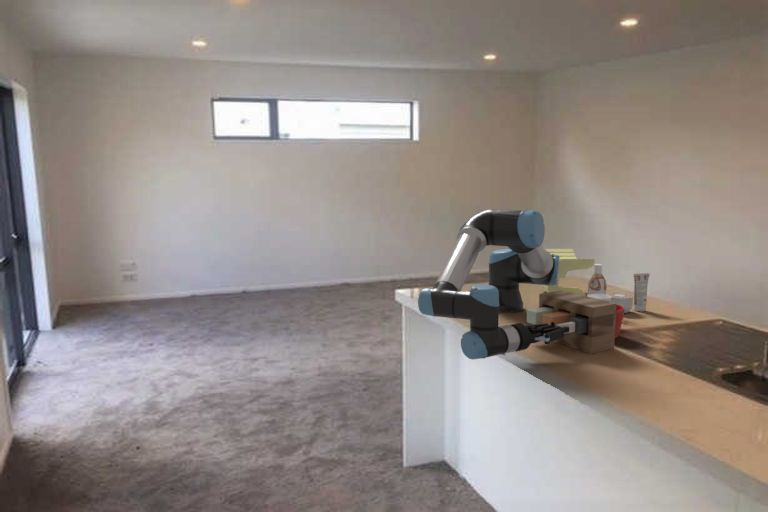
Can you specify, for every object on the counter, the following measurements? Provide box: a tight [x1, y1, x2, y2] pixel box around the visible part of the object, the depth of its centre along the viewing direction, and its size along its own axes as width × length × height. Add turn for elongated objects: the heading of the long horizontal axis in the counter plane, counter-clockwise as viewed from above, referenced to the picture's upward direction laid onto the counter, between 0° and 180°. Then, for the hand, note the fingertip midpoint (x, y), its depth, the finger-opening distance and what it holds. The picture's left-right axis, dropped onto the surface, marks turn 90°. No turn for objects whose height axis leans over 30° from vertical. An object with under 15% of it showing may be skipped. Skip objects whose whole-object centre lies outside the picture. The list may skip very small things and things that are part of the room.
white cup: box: [586, 294, 611, 302], centre depth 206 cm, size 8×8×10 cm
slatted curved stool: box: [541, 248, 596, 296], centre depth 253 cm, size 30×16×18 cm, turn 179°
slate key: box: [569, 315, 589, 334], centre depth 177 cm, size 4×10×4 cm, turn 119°
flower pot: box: [615, 305, 625, 339], centre depth 192 cm, size 11×11×10 cm
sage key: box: [526, 306, 554, 325], centre depth 188 cm, size 4×10×4 cm, turn 119°
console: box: [538, 291, 616, 355], centre depth 185 cm, size 22×10×14 cm, turn 29°
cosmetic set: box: [587, 263, 651, 314], centre depth 222 cm, size 25×9×19 cm, turn 102°
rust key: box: [543, 310, 571, 325], centre depth 182 cm, size 4×10×4 cm, turn 119°
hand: (573, 326), depth 175 cm, fingers closed
